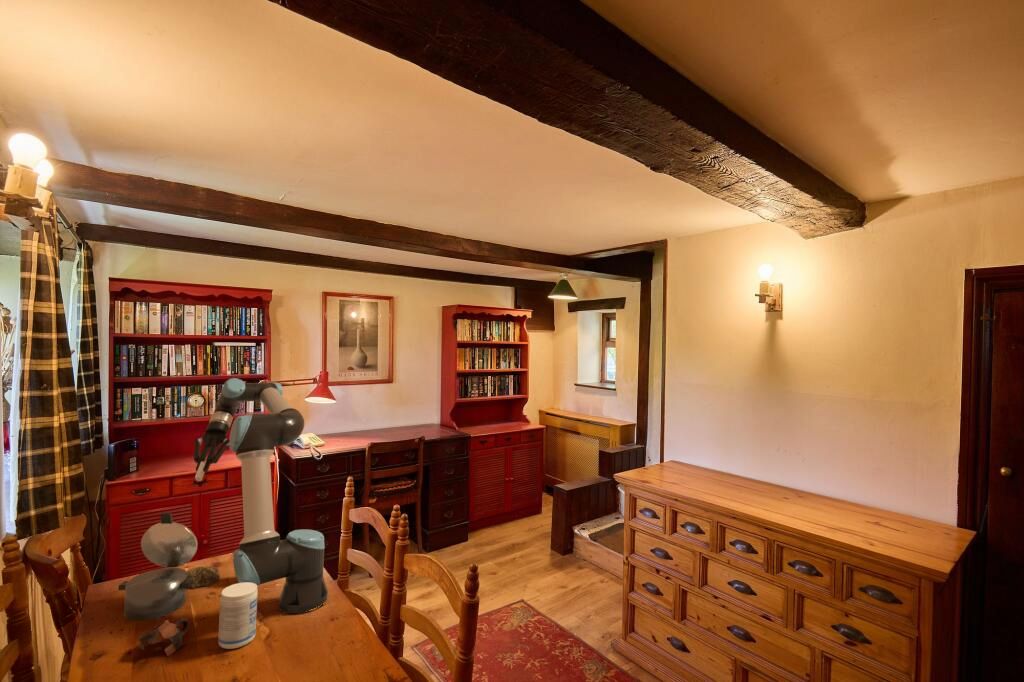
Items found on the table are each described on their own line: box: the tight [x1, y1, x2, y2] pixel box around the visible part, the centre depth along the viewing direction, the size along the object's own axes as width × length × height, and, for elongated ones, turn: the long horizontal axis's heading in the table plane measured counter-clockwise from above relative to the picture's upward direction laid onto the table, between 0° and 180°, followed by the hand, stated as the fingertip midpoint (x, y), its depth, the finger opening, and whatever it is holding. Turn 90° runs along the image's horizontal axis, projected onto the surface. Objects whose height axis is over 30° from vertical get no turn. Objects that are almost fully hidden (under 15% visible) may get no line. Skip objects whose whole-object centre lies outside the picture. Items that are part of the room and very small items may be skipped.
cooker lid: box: [140, 512, 198, 568], centre depth 162 cm, size 20×17×1 cm
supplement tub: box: [217, 582, 259, 650], centre depth 140 cm, size 10×10×15 cm
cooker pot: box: [117, 567, 194, 622], centre depth 156 cm, size 17×21×9 cm
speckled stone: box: [186, 565, 221, 590], centre depth 174 cm, size 13×12×5 cm
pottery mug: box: [138, 617, 191, 657], centre depth 136 cm, size 12×10×8 cm
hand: (198, 479), depth 176 cm, fingers closed
